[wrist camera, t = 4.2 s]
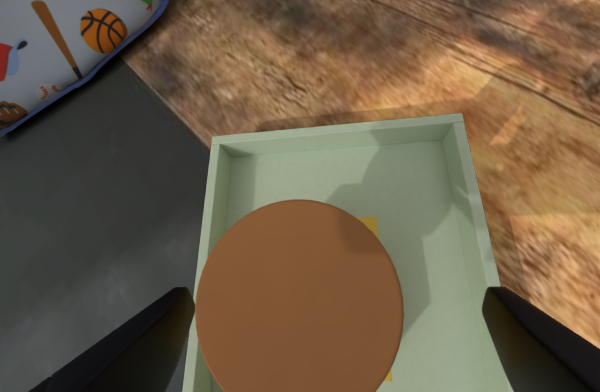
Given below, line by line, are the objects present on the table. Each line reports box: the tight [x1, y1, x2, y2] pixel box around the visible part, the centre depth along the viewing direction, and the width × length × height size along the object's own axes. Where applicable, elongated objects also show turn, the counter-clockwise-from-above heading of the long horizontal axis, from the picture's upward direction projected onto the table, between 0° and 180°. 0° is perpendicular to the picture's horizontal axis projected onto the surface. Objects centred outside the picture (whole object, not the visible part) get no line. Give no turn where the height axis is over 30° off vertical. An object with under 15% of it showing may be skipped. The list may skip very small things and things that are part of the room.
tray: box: [182, 113, 514, 392], centre depth 15 cm, size 19×15×3 cm
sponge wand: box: [195, 199, 404, 392], centre depth 9 cm, size 7×4×13 cm, turn 0°
